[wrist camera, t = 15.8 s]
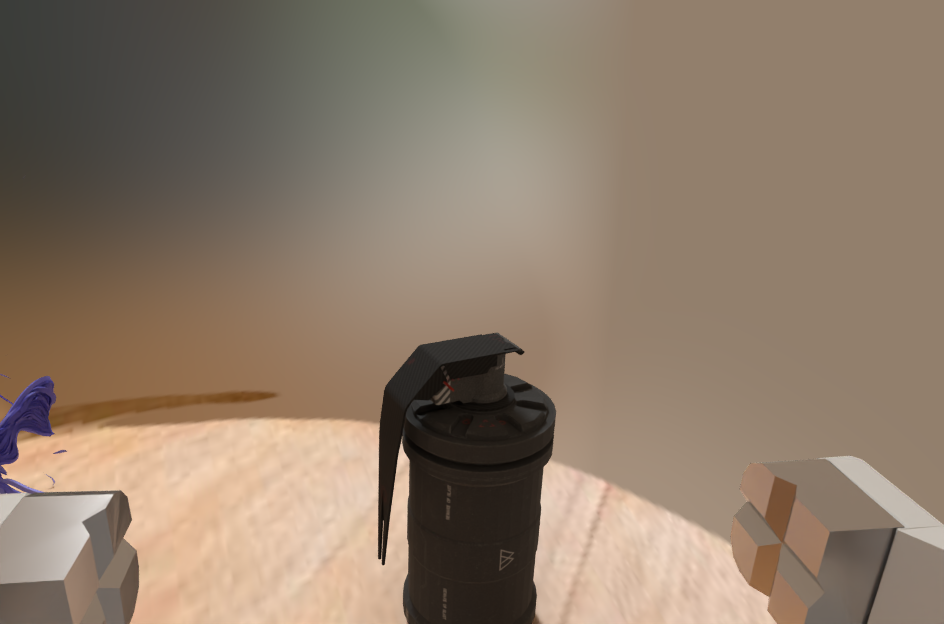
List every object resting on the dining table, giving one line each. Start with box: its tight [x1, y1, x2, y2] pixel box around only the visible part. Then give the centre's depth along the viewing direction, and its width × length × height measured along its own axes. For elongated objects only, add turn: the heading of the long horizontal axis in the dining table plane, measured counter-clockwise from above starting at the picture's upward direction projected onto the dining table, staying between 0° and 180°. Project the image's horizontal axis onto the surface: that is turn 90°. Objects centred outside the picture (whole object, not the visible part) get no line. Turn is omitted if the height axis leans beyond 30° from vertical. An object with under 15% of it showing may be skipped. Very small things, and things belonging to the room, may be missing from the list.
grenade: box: [378, 333, 556, 624], centre depth 42 cm, size 9×11×20 cm
